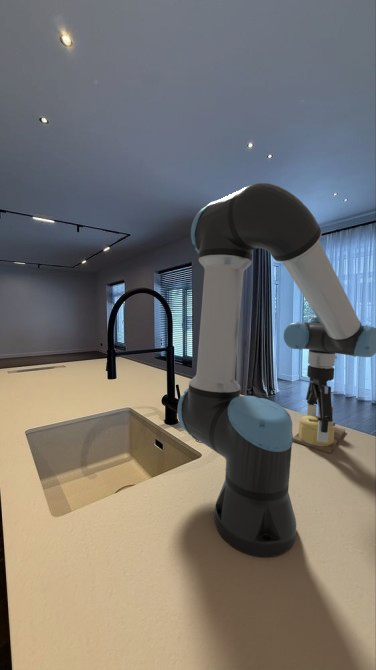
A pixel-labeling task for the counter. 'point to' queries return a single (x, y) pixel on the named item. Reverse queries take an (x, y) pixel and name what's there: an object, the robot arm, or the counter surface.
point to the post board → (337, 436)
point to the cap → (314, 430)
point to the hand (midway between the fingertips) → (315, 432)
